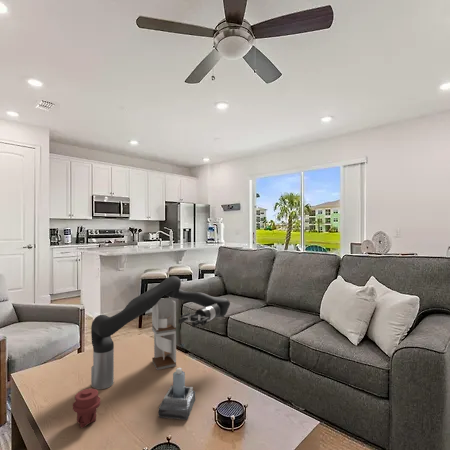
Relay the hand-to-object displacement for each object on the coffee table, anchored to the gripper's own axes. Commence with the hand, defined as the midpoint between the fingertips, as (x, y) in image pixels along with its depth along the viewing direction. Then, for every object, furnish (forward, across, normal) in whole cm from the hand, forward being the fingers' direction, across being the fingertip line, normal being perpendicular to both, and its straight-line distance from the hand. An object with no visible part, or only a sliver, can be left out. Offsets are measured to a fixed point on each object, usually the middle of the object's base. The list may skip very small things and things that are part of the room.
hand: (185, 323), depth 149 cm
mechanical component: (+43, -14, +30) cm, 55 cm away
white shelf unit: (-10, -24, +30) cm, 39 cm away
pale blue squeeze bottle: (+15, +9, +26) cm, 32 cm away
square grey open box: (+17, +10, +30) cm, 36 cm away
